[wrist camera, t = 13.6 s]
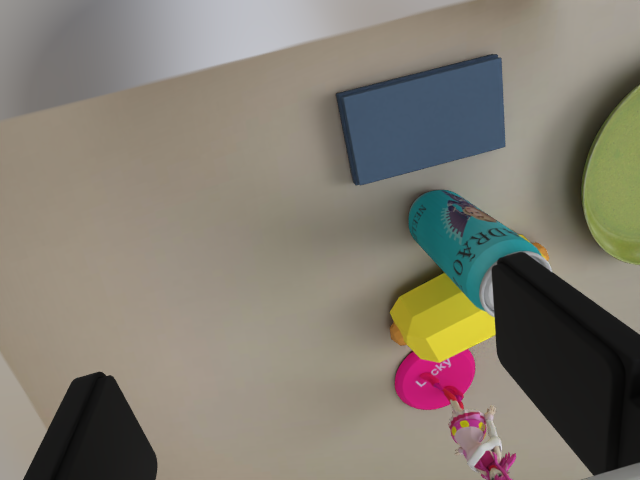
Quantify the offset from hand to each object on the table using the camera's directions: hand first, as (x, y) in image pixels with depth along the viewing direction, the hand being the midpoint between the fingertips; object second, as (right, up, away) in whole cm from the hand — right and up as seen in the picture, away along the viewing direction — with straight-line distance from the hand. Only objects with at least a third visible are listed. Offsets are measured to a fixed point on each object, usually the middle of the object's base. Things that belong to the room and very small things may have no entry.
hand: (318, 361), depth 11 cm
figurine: (+13, -13, +41) cm, 45 cm away
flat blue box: (+9, +14, +29) cm, 33 cm away
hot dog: (+15, -2, +37) cm, 40 cm away
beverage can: (+11, +6, +33) cm, 35 cm away
